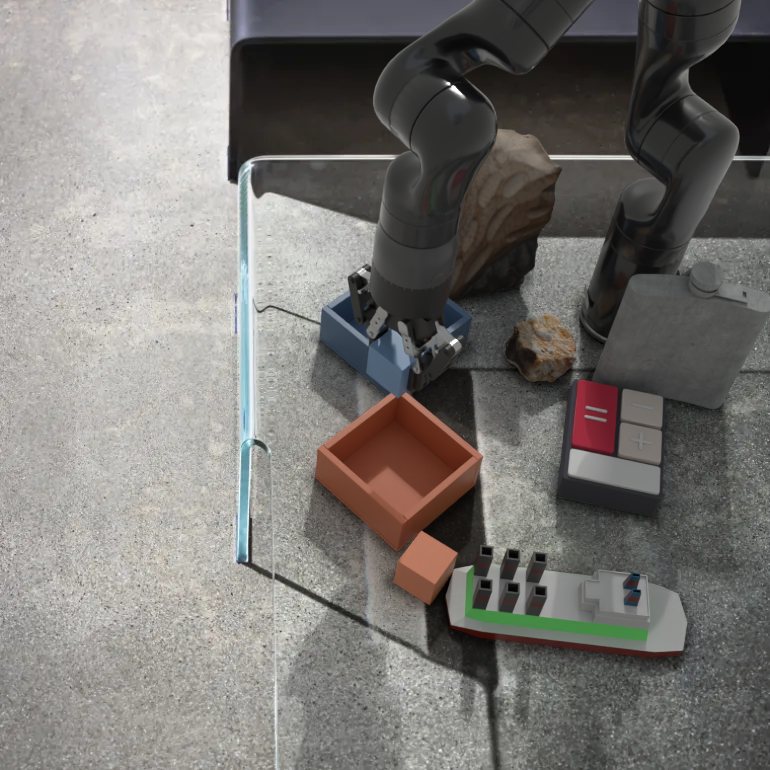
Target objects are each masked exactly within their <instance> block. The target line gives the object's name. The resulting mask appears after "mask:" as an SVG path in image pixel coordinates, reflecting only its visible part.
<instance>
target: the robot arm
mask: <svg viewBox="0 0 770 770" xmlns="http://www.w3.org/2000/svg"><path fill="white" fill-rule="evenodd" d="M595 1H596V0H472V1H470V2H469V3H468V4H467V5H466V6H464V7H463V8H461V9H460V10H458V11H457V12H455V13H454V14H452V15H451V16H449V17H448V18H446V19H445V20H444V21H443V22H441V23H440V24H438V25H437V26H435V27H434V28H432V29H431V30H429V31H428V32H427V33H425V34H424V35H422V36H420V37H419V38H417V39H415V41H413V42H411V43H410V44H408V45H407V46H406V47H404V48H403V49H402V50H400V51H399V52H398V53H397V54H396V55H395V56H394V57H393V58H392V59H390V61H389V62H388V63H387V65H386V66H384V69H383V70H382V72H381V73H380V75H379V77H378V79H377V82H376V84H375V87H374V91H373V95H372V96H373V98H372V107H373V111H374V113H375V115H376V117H377V119H378V120H379V121H380V123H381V124H382V125H383V126H384V127H385V128H386V129H387V130H388V131H389V132H391V134H393V136H395V137H396V138H397V139H398V140H399V141H400V142H401V143H402V144H403V145H404V146H405V147H406V148H407V149H408V150H407V151H404V152H402V153H400V154H398V155H397V156H396V157H395V158H393V159H392V161H391V162H390V163H389V164H388V167H387V168H386V171H385V175H384V177H383V183H382V191H381V198H380V199H381V200H380V201H381V202H380V209H379V217H378V221H377V223H376V227H375V232H374V236H373V237H374V238H373V246H372V257H371V265H370V264H368V263H365V264H364V265H362V266H360V267H359V268H357V269H356V270H355V271H353V272H352V273H351V274H350V275H348V276H347V277H346V278H347V284H348V290H350V296H351V302H352V307H353V313H354V318H355V321H356V322H357V323H358V324H360V325H362V324H363V323H364V324H365V326H366V327H367V334H368V336H369V345H371V344H372V343H373V342H375V341H376V340H377V339H378V338H380V337H381V336H382V335H384V334H385V333H386V332H388V331H389V330H390V329H392V330H394V331H396V332H397V333H398V334H399V335H400V336H401V337H402V341H403V347H404V352H405V354H407V355H409V359H410V364H411V368H410V371H409V377H408V384H407V390H409V391H408V392H410V393H411V394H414V393H415V392H417V393H419V392H420V391H421V390H422V389H423V388H425V387H426V386H427V385H428V384H430V381H431V382H433V381H434V380H436V379H437V378H438V377H440V376H441V375H442V374H443V373H445V372H446V371H447V370H448V369H450V368H451V367H452V365H453V364H454V363H455V361H456V360H457V359H458V357H459V356H460V354H461V353H462V352H463V350H464V349H465V348H466V347H467V345H468V339H467V340H466V338H465V337H464V336H462V335H458V336H457V337H455V338H454V337H453V336H452V335H451V333H450V332H449V331H448V330H447V329H446V328H445V318H444V315H443V310H444V307H445V305H446V303H447V300H448V297H449V293H450V288H451V283H452V277H453V272H454V267H455V261H456V256H457V251H458V243H459V224H460V218H461V213H462V207H463V203H464V197H465V195H466V193H467V191H468V190H469V188H470V186H471V184H472V183H473V181H474V179H475V177H476V175H477V173H478V171H479V170H480V168H481V166H482V165H483V163H484V161H485V160H486V158H487V157H488V155H489V154H490V152H491V150H492V148H493V146H494V144H495V142H496V139H497V133H498V129H499V123H498V116H497V112H496V109H495V106H494V105H493V103H492V102H491V100H490V98H488V97H487V96H486V94H484V93H483V92H482V91H481V90H480V89H479V88H477V86H475V85H474V84H473V83H472V82H471V81H469V79H467V78H466V77H465V75H466V74H468V73H470V72H471V71H473V70H475V69H477V68H479V67H481V66H484V65H490V66H493V67H496V68H499V69H501V70H502V71H504V72H507V73H509V74H513V75H517V76H521V75H522V76H523V75H525V74H528V73H529V72H531V70H533V69H534V68H535V67H536V66H538V64H539V63H541V61H542V60H543V59H544V58H545V57H546V56H547V55H548V53H549V51H551V50H552V49H553V48H554V47H555V46H556V44H558V42H560V41H561V39H562V38H563V37H564V36H565V35H566V33H567V32H568V31H569V30H570V29H571V28H572V27H573V25H574V24H575V23H577V21H578V20H579V19H580V18H581V17H582V16H583V14H584V13H585V12H586V11H587V10H588V9H589V8H590V7H591V6H592V4H594V2H595ZM741 4H742V0H637V33H636V46H635V57H634V58H635V59H634V70H633V77H632V83H631V88H630V94H629V100H628V104H627V109H626V115H625V122H624V128H623V144H624V147H625V150H626V152H627V153H628V154H629V156H630V157H631V158H632V160H633V161H634V162H635V163H637V165H639V166H640V167H641V168H643V169H644V170H645V171H646V172H647V173H649V174H650V175H651V176H650V177H643V178H639V179H635V180H633V181H631V182H630V183H629V184H627V185H626V186H625V187H624V189H623V190H622V191H621V193H620V195H619V197H618V199H617V201H616V204H615V205H616V206H615V208H614V211H613V214H612V217H611V220H610V223H609V225H608V229H607V232H606V235H605V239H604V241H603V244H602V246H601V249H600V252H599V256H598V259H597V261H596V264H595V268H594V270H593V272H592V276H591V278H590V282H589V285H587V284H585V286H584V287H583V294H584V298H583V300H582V302H581V305H580V309H579V320H580V323H581V324H582V327H583V329H585V331H586V332H587V333H588V334H589V335H590V336H591V337H592V338H593V339H595V340H596V341H599V342H600V343H602V344H604V345H605V344H606V341H607V338H608V336H609V333H610V330H611V328H612V325H613V322H614V320H615V317H616V315H617V312H618V309H619V307H620V304H621V301H622V299H623V296H624V293H625V291H626V288H627V286H628V283H629V280H630V278H631V277H632V276H634V275H637V274H665V275H679V276H689V277H690V271H691V270H692V267H691V268H689V269H688V270H686V272H684V273H683V274H681V272H680V270H679V269H680V266H681V264H682V263H683V262H682V261H683V259H684V257H685V255H686V252H687V249H688V248H689V246H690V242H691V240H692V238H693V236H694V234H695V231H696V229H697V227H698V226H699V224H700V223H701V221H702V220H703V218H704V216H705V215H706V213H707V212H708V211H709V208H710V207H711V204H712V202H713V199H714V198H715V196H716V193H717V191H718V189H719V188H720V185H721V184H722V182H723V180H724V178H725V176H726V174H727V172H728V171H729V168H730V166H731V165H732V163H733V160H734V158H735V156H736V154H737V150H738V147H739V143H740V132H739V128H738V127H737V125H735V123H733V121H731V120H730V119H729V118H728V117H726V116H725V115H724V114H722V113H721V112H720V111H719V110H717V109H716V108H714V107H713V105H711V104H710V103H708V102H706V101H705V100H704V99H702V97H700V96H699V95H697V93H695V92H694V91H693V89H692V88H691V85H690V83H689V72H690V68H691V67H693V66H695V65H696V64H698V63H700V62H701V61H703V60H704V59H707V58H708V57H709V56H712V54H714V53H715V52H716V51H717V50H718V49H719V48H720V47H721V46H722V45H724V44H725V43H726V41H728V39H729V38H730V36H731V35H732V33H733V32H734V30H735V28H736V25H737V23H738V20H739V16H740V11H741V6H742V5H741ZM587 286H588V287H587ZM366 302H367V307H365V308H364V304H365V303H366ZM389 328H390V329H389ZM436 341H437V349H435V343H436ZM465 346H466V347H465ZM368 351H369V346H368ZM423 352H424V355H423V356H421V355H422V353H423ZM436 354H437V355H436Z"/></svg>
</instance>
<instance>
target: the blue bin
mask: <svg viewBox="0 0 770 770" xmlns="http://www.w3.org/2000/svg"><path fill="white" fill-rule="evenodd" d="M365 307H367V302H366V303H365V304H364V308H365ZM443 315H444V318H445V328H446V329H447V330H448V331H449V332H450V333H451V335H452V336H453V337H454V338H455V337H457V336H458V335H462V336H464V337H465V338H466V340H467V341H468V339H469V335H470V330H471V326H472V322H473V317H474V316H473V315H472V314H470V313H469V312H467V311H466V310H465V309H464V308H462V307H461V306H460V305H458V304H457V303H456V302H455V301H454V302H453V301H452V300H451V299H449V298H448V300H447V303H446V305H445V307H444V310H443ZM319 325H320V326H319V337H318V338H319V339H318V340H319V341H321V342H322V343H323V344H324V345H326V346H327V347H328V348H329V349H330V350H332V351H333V352H334V353H335V354H336V355H337V356H338V357H340V358H341V359H342V360H343V361H344V362H346V363H347V364H348V365H349V366H351V368H352V369H354V370H355V371H357V372H358V373H359V374H360V375H361V376H363V377H364V378H365V379H366V380H367V381H368V382H369V383H371V384H372V385H373V386H375V387H376V388H377V389H378V390H379V391H380V392H382V393H383V394H384V395H385V396H388V395H389V394H390V392H389V391H388V390H387V389H385V388H384V387H383V386H382V385H380V384H379V383H378V382H377V381H376V380H374V379H373V378H372V377H371V376H369V375H368V374H367V373H366V371H367V362H368V353H369V351H368V346H369V336H368V334H367V327H366V326H365V324H364V323H363V324H362V325H360V324H358V323H357V322H356V321H355V318H354V313H353V307H352V302H351V296H350V290H349V289H348V290H347V291H346V292H344V293H342V294H341V295H340V296H338V297H337V298H335V299H333V300H332V301H331V302H329V303H328V304H326V305H324V307H323V306H322V308H321V312H320V324H319ZM389 329H390V328H389ZM466 347H467V345H466V346H465V348H466ZM435 349H437V341H436V343H435ZM436 355H437V354H436ZM408 392H410V391H409V390H408V391H407V393H408Z"/></svg>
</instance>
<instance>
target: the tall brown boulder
mask: <svg viewBox="0 0 770 770" xmlns="http://www.w3.org/2000/svg"><path fill="white" fill-rule="evenodd" d="M562 171H563V167H562V166H561V165H559V164H558V163H556V162H554V161H553V160H552V159H551V158H550V155H549V154H548V152H547V151H546V149H545V147H544V146H543V144H542V143H541V141H540V139H538V137H537V136H535V135H533V134H530V133H528V134H521V133H518V132H516V130H514V129H503V128H498V133H497V139H496V142H495V144H494V146H493V148H492V150H491V152H490V154H489V155H488V157H487V158H486V160H485V161H484V163H483V165H482V166H481V168H480V170H479V171H478V173H477V175H476V177H475V179H474V181H473V183H472V184H471V186H470V188H469V190H468V191H467V193H466V195H465V197H464V203H463V207H462V213H461V218H460V224H459V243H458V251H457V256H456V261H455V267H454V272H453V277H452V283H451V288H450V293H449V297H448V298H449V299H451V300H452V301H453V302H454V303H455V302H458V301H463V300H466V299H473V298H476V297H479V296H481V295H492V294H494V293H497V292H499V291H500V290H513V289H516V288H517V287H519V286H520V285H521V284H523V283H524V281H525V277H526V275H528V274H529V273H530V272H532V271H533V270H534V269H535V267H536V257H537V250H538V248H539V241H538V238H539V237H540V234H541V232H542V231H543V229H544V228H545V227H546V226H547V224H549V223H550V222H551V219H552V217H553V211H554V206H555V204H556V194H555V192H556V183H557V182H558V179H559V177H560V175H561V174H562Z"/></svg>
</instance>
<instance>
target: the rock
mask: <svg viewBox="0 0 770 770" xmlns="http://www.w3.org/2000/svg"><path fill="white" fill-rule="evenodd" d="M504 344H505V348H504V350H503V356H504V358H505V360H506V361H508V363H510V364H511V365H514V366H515V367H516V368H517V370H518V372H519V373H520V375H522V377H524V379H525V380H527V381H528V382H531V383H535V382H545V381H546V382H548V383H554V382H556V380H558V378H560V377H561V376H563V375H565V374H566V372H567V371H568V370H570V368H572V366H573V365H574V364H575V362H576V360H577V357H578V355H577V353H576V351H577V345H576V344H575V342H574V336H573V334H572V333H571V332H570V331H569V329H568V328H567V327H566V326H565V325H563V324H562V322H561V318H559V317H558V316H557V315H555V314H551V313H545V314H542V315H540V316H537V317H533V318H532V319H529V320H527V321H526V320H520V321H519V322H518V323H517V324H516V325H514V326H513V331H512V333H511V335H510V337H508V339H506V340H504Z"/></svg>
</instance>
